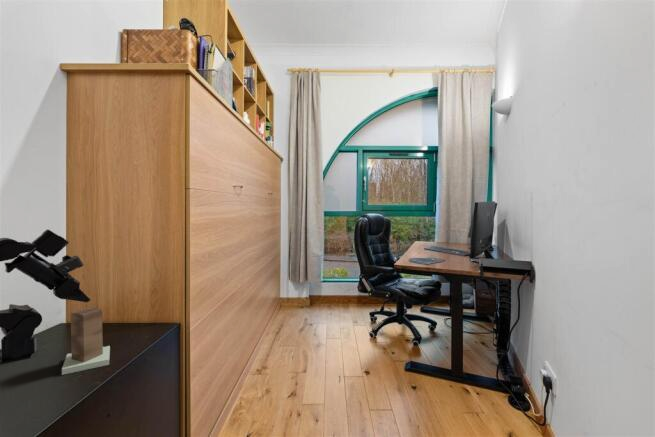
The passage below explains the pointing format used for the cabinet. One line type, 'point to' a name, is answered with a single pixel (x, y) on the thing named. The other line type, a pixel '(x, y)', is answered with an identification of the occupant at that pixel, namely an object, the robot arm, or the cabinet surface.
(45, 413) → the cabinet surface
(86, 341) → the walnut block
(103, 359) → the sage board
